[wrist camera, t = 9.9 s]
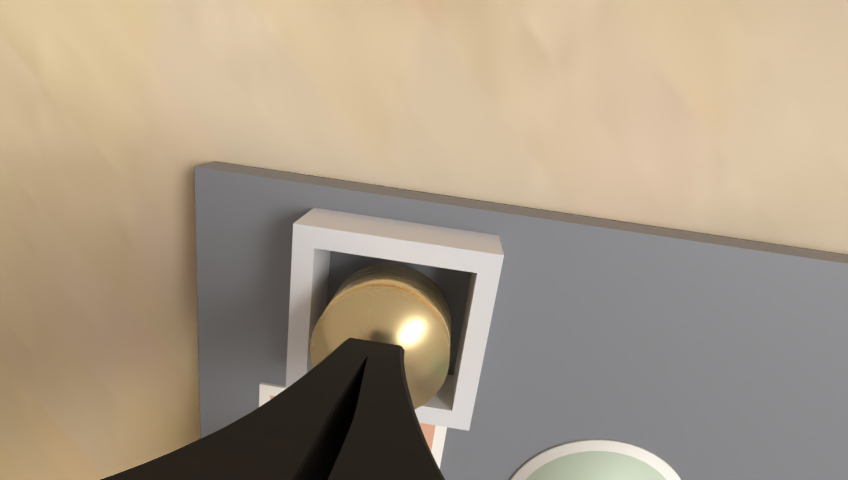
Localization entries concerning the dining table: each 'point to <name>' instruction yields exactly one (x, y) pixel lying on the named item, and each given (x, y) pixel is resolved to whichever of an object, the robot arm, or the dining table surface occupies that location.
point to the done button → (391, 322)
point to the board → (539, 330)
